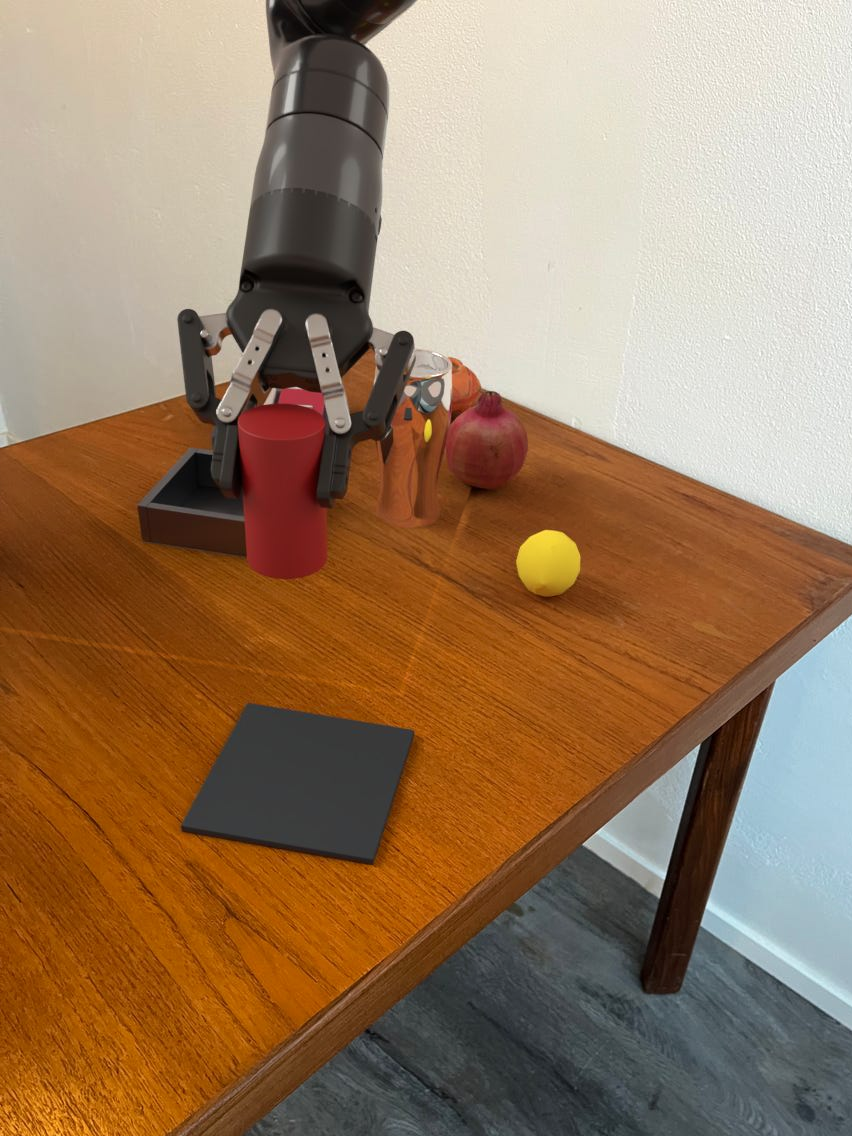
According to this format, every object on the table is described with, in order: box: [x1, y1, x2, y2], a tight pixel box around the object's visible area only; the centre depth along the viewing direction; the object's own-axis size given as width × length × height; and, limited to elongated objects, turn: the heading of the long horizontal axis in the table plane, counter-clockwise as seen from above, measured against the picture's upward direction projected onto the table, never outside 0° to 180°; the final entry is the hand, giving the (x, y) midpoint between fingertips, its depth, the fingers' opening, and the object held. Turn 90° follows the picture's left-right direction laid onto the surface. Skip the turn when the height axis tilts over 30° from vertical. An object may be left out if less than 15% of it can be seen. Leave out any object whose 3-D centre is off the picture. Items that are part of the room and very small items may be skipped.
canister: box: [238, 404, 328, 580], centre depth 59 cm, size 5×5×9 cm
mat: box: [180, 702, 415, 865], centre depth 66 cm, size 12×12×1 cm
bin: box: [136, 447, 247, 558], centre depth 90 cm, size 12×12×4 cm
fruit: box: [445, 390, 529, 490], centre depth 98 cm, size 8×8×10 cm
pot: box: [447, 356, 482, 414], centre depth 113 cm, size 8×8×7 cm
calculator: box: [210, 380, 330, 451], centre depth 105 cm, size 11×4×15 cm
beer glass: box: [372, 347, 452, 529], centre depth 90 cm, size 7×7×15 cm
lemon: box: [515, 529, 581, 597], centre depth 85 cm, size 7×5×5 cm
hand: (277, 498), depth 57 cm, fingers closed on canister, 5 cm apart
